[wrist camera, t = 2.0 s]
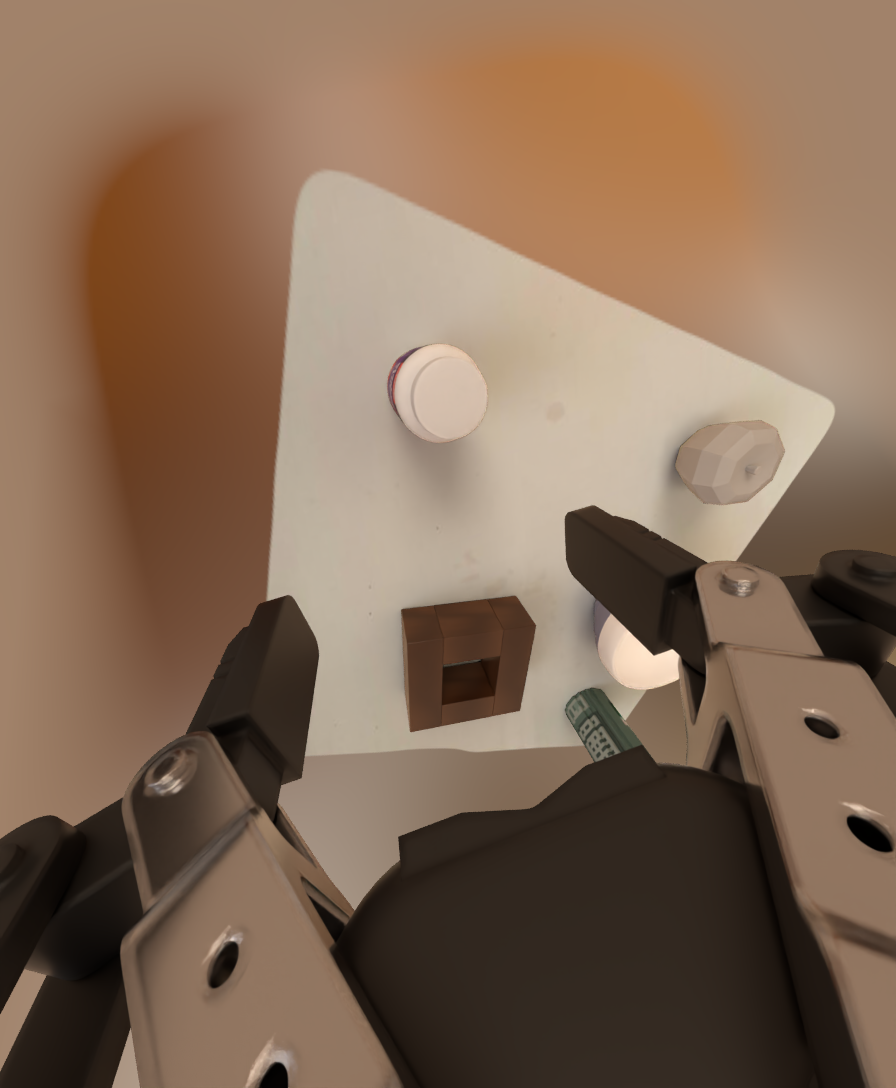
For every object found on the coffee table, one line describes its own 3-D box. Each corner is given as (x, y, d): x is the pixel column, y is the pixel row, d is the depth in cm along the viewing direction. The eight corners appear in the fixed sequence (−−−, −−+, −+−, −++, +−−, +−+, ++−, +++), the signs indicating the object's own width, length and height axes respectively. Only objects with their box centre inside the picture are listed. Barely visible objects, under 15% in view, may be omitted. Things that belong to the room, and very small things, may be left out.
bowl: (579, 658, 45) (617, 708, 39) (561, 577, 38) (603, 622, 31) (677, 614, 46) (730, 656, 39) (678, 525, 38) (744, 558, 32)
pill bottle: (376, 357, 24) (385, 353, 16) (448, 340, 25) (494, 327, 16) (398, 434, 27) (415, 464, 19) (462, 416, 27) (507, 439, 19)
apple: (642, 478, 34) (698, 501, 28) (689, 399, 31) (762, 406, 26) (694, 499, 37) (755, 523, 31) (742, 428, 34) (818, 440, 28)
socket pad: (404, 693, 41) (410, 732, 36) (401, 609, 35) (406, 643, 31) (504, 676, 43) (520, 711, 39) (516, 595, 37) (536, 625, 33)
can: (588, 718, 52) (663, 834, 39) (558, 715, 50) (627, 836, 37) (610, 691, 50) (697, 804, 37) (580, 686, 48) (662, 804, 35)
